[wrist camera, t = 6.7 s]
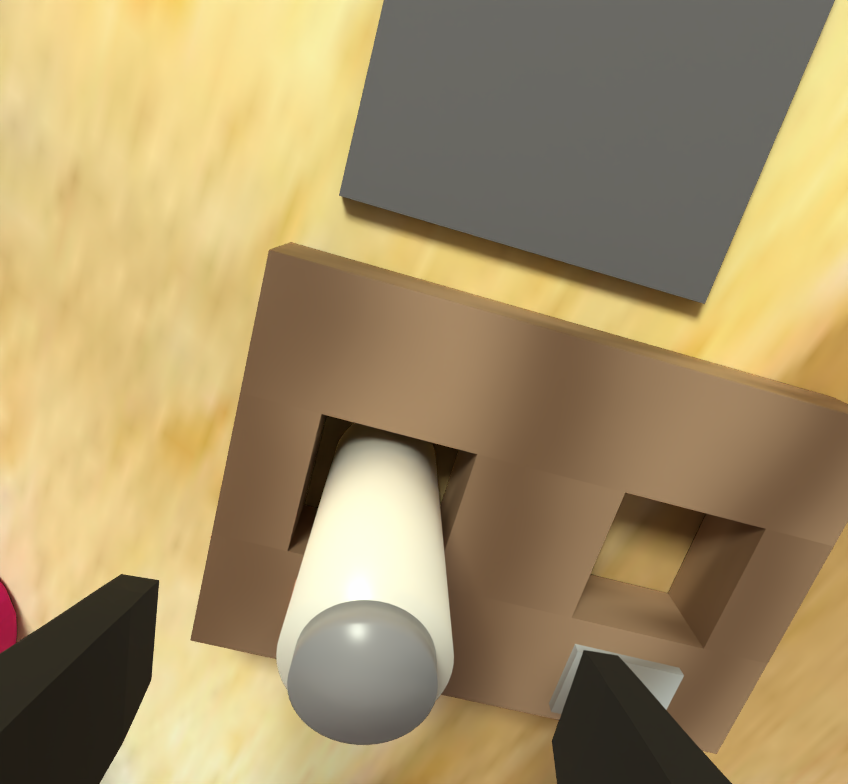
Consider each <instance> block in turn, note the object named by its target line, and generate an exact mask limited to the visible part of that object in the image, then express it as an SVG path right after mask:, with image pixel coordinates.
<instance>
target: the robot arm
mask: <svg viewBox="0 0 848 784" xmlns="http://www.w3.org/2000/svg"><path fill="white" fill-rule="evenodd" d="M158 588H159V580H154V579H148V578H141V577H135V576H129V575H123V574H121V575H119V576H118V577H116V578H115V579H113V580H112V581H110V582H108V583H107V584H105V585H104V586H102V587H101V588H99V589H98V590H96V591H95V592H93V593H92V594H90V595H89V596H87V597H86V598H84V599H83V600H81V601H80V602H78V603H77V604H75V605H74V606H72V607H71V608H69V609H68V610H66V611H65V612H63V613H62V614H60V615H59V616H57V617H56V618H54V619H53V620H51V621H50V622H48V623H47V624H45V625H44V626H42V627H41V628H39V629H37V630H36V631H34V632H33V633H31V634H30V635H28V636H27V637H25V638H23V639H22V640H20V641H19V642H17V643H16V644H14V645H12V646H11V647H9V648H8V649H6V650H5V651H3V652H2V653H0V784H99V783H100V782H101V780H102V778H103V776H104V775H105V773H106V771H107V769H108V768H109V766H110V764H111V763H112V761H113V759H114V757H115V756H116V754H117V752H118V750H119V749H120V747H121V745H122V743H123V741H124V739H125V737H126V735H127V733H128V730H129V728H130V726H131V724H132V722H133V720H134V718H135V715H136V713H137V711H138V709H139V706H140V704H141V702H142V700H143V697H144V695H145V693H146V691H147V688H148V686H149V684H150V682H151V677H152V664H153V651H154V639H155V626H156V614H157V601H158ZM552 745H553V753H554V761H555V769H556V778H557V784H732V783H731V782H730V781H729V780H728V779H727V778H726V777H725V776H724V775H723V773H722V772H721V771H720V770H719V769H718V768H717V767H716V766H715V765H714V764H713V762H712V761H711V760H710V759H709V758H708V757H707V756H706V755H705V754H704V752H703V751H702V750H701V749H700V748H699V747H698V746H697V745H696V743H695V742H694V741H693V740H692V739H691V738H690V737H689V736H688V734H687V733H686V732H685V731H684V730H683V729H682V728H681V726H680V725H679V724H678V723H677V722H676V721H675V719H674V718H673V717H672V716H671V715H670V714H669V713H668V711H667V710H666V709H665V708H664V707H663V706H662V704H661V703H660V702H659V701H658V700H657V699H656V698H655V696H654V695H653V694H652V693H651V692H650V691H649V689H648V688H647V687H646V686H645V685H644V684H643V683H642V681H641V680H640V679H639V678H638V677H637V676H636V675H635V673H634V672H633V671H632V670H631V669H630V668H629V667H628V666H627V665H626V663H625V662H624V661H623V660H622V659H621V658H620V657H619V656H618V655H612V654H606V653H600V652H594V651H588V650H584V651H583V654H582V656H581V659H580V662H579V665H578V668H577V671H576V674H575V676H574V679H573V682H572V685H571V688H570V691H569V694H568V696H567V699H566V702H565V705H564V708H563V711H562V714H561V716H560V719H559V722H558V725H557V728H556V731H555V734H554V736H553V739H552Z"/></svg>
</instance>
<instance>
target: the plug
mask: <svg viewBox="0 0 848 784" xmlns="http://www.w3.org/2000/svg"><path fill="white" fill-rule="evenodd" d="M276 657H277V666H278V671H279V674H280V677H281V679H282V682H283V684H284V685H285V687H286V689H287V690H288V695H289V699H290V701H291V704H292V706H293V708H294V710H295V711H296V713H297V714H298V716H299V717H300V718H301V719H302V720H303V721H304V722H305V723H306V724H307V725H308V726H309V727H310V728H312V729H313V730H314V731H316V732H318V733H319V734H321V735H323V736H325V737H327V738H330V739H332V740H336V741H339V742H343V743H348V744H356V745H371V744H379V743H384V742H388V741H391V740H394V739H397V738H399V737H401V736H404V735H405V734H407V733H409V732H411V731H412V730H413V729H415V728H416V727H417V726H418V725H420V724H421V723H422V722H423V721H424V719H425V718H426V717H427V716H428V714H429V713H430V711H431V709H432V707H433V705H434V703H435V701H436V700H437V699H438V697H439V696H440V695H441V694H442V692H443V691H444V689H445V687H446V686H447V684H448V682H449V679H450V677H451V674H452V669H453V664H454V651H453V640H452V629H451V618H450V608H449V597H448V586H447V575H446V564H445V554H444V543H443V532H442V521H441V510H440V499H439V489H438V478H437V467H436V457H435V451H434V447H433V444H432V442H428V441H424V440H420V439H417V438H413V437H409V436H405V435H401V434H397V433H393V432H390V431H386V430H382V429H378V428H374V427H370V426H366V425H362V424H359V423H354V424H353V425H351V426H350V427H349V428H348V429H347V430H346V431H345V432H344V434H343V435H342V437H341V438H340V440H339V442H338V445H337V448H336V451H335V454H334V457H333V461H332V464H331V467H330V471H329V474H328V477H327V481H326V484H325V487H324V491H323V494H322V497H321V501H320V504H319V507H318V511H317V514H316V517H315V520H314V524H313V527H312V530H311V534H310V537H309V540H308V544H307V547H306V550H305V554H304V557H303V560H302V564H301V567H300V570H299V574H298V577H297V580H296V583H295V587H294V590H293V593H292V597H291V600H290V603H289V607H288V610H287V613H286V617H285V620H284V623H283V627H282V630H281V633H280V637H279V640H278V644H277V653H276Z"/></svg>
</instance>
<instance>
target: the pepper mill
mask: <svg viewBox="0 0 848 784" xmlns="http://www.w3.org/2000/svg"><path fill="white" fill-rule="evenodd" d="M16 638H17V622H16V612H15V610H14V607H13V605H12V603H11V600H10V598H9V595H8V593H7V590H6V588H5V587H4V585H3V584H2V583H1V582H0V653H2V652H3V651H5V650H6V649H8V648H9V647H11V646H12V645H14V644H16Z"/></svg>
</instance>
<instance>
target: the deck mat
mask: <svg viewBox="0 0 848 784" xmlns="http://www.w3.org/2000/svg"><path fill="white" fill-rule="evenodd" d="M834 1H835V0H384V2H383V7H382V11H381V15H380V20H379V24H378V28H377V33H376V37H375V41H374V46H373V50H372V54H371V59H370V63H369V67H368V72H367V76H366V80H365V85H364V89H363V94H362V98H361V102H360V107H359V111H358V115H357V120H356V124H355V128H354V133H353V137H352V141H351V146H350V150H349V154H348V159H347V163H346V167H345V172H344V176H343V181H342V185H341V189H340V194H339V196H342V197H346V198H349V199H352V200H356V201H359V202H363V203H366V204H369V205H373V206H376V207H379V208H383V209H386V210H390V211H393V212H396V213H400V214H403V215H406V216H410V217H413V218H417V219H420V220H423V221H427V222H430V223H433V224H437V225H440V226H444V227H447V228H450V229H454V230H457V231H460V232H464V233H467V234H471V235H474V236H477V237H481V238H484V239H487V240H491V241H494V242H498V243H501V244H504V245H508V246H511V247H514V248H518V249H521V250H525V251H528V252H531V253H535V254H538V255H541V256H545V257H548V258H552V259H555V260H558V261H562V262H565V263H568V264H572V265H575V266H579V267H582V268H585V269H589V270H592V271H595V272H599V273H602V274H606V275H609V276H612V277H616V278H619V279H622V280H626V281H629V282H633V283H636V284H639V285H643V286H646V287H649V288H653V289H656V290H660V291H663V292H666V293H670V294H673V295H676V296H680V297H683V298H687V299H690V300H693V301H697V302H700V303H703V304H705V302H706V300H707V297H708V295H709V293H710V290H711V288H712V286H713V283H714V281H715V279H716V276H717V274H718V272H719V269H720V267H721V265H722V262H723V260H724V258H725V255H726V253H727V251H728V248H729V246H730V244H731V241H732V239H733V237H734V234H735V232H736V230H737V227H738V225H739V223H740V220H741V218H742V216H743V213H744V211H745V209H746V206H747V204H748V202H749V199H750V197H751V195H752V192H753V190H754V188H755V185H756V183H757V181H758V178H759V176H760V174H761V171H762V169H763V167H764V164H765V162H766V160H767V157H768V155H769V153H770V150H771V148H772V146H773V143H774V141H775V139H776V136H777V134H778V132H779V129H780V127H781V125H782V122H783V120H784V118H785V115H786V113H787V111H788V108H789V106H790V104H791V101H792V99H793V97H794V94H795V92H796V90H797V87H798V85H799V83H800V80H801V78H802V76H803V73H804V71H805V69H806V66H807V64H808V62H809V59H810V57H811V55H812V52H813V50H814V48H815V45H816V43H817V41H818V38H819V36H820V34H821V31H822V29H823V27H824V24H825V22H826V20H827V17H828V15H829V13H830V10H831V8H832V6H833V3H834Z"/></svg>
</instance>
